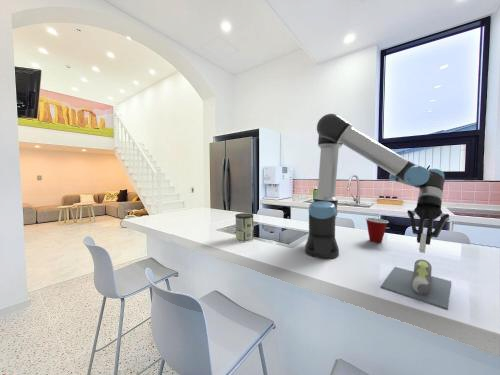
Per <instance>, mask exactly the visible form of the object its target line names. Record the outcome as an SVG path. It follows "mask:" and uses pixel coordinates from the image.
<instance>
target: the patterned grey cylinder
mask: <svg viewBox="0 0 500 375" xmlns="http://www.w3.org/2000/svg"><path fill="white" fill-rule="evenodd" d="M413 271H414V272H413V280H412V283H413V284H412V286H413V289H414V290H415V291H416V292H417V293H419V294H427V293H428V292H429V290H430V287H431V276H432V264H431V263H430V262H428V261H427V260H426V259H422V258H421V259H417V260H416V261H415V262H414V266H413Z"/></svg>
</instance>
